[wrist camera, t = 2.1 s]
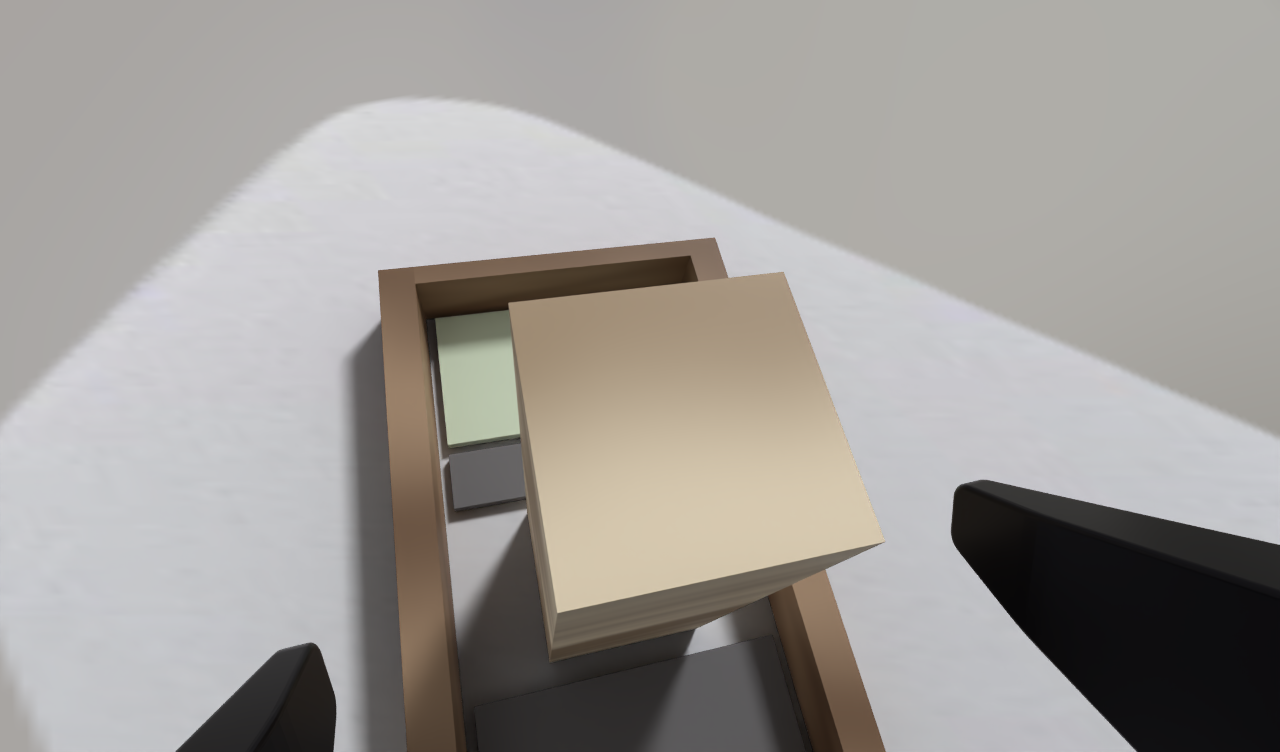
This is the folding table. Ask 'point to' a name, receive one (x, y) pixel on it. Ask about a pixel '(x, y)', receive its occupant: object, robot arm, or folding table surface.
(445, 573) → the brown rectangular frame
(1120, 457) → the folding table surface
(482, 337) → the pad
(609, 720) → the pads
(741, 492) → the maple block
